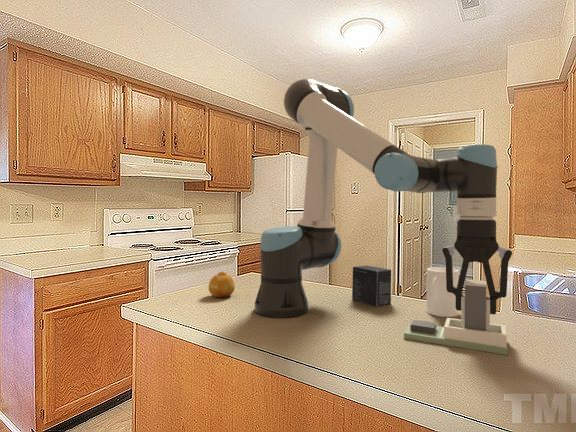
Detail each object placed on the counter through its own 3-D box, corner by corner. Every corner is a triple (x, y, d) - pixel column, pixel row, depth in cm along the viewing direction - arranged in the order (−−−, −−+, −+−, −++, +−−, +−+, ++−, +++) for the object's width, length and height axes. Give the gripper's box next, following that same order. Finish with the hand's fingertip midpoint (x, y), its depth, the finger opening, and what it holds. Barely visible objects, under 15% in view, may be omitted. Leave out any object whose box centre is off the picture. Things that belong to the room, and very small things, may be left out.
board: (404, 338, 83) (404, 326, 83) (410, 327, 91) (410, 316, 90) (507, 355, 74) (507, 342, 74) (505, 341, 81) (505, 329, 81)
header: (443, 338, 80) (444, 326, 80) (446, 328, 86) (447, 317, 86) (506, 347, 74) (506, 335, 74) (504, 336, 81) (505, 325, 81)
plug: (464, 329, 79) (464, 282, 79) (465, 323, 83) (465, 279, 82) (485, 332, 77) (486, 284, 77) (485, 326, 81) (486, 280, 81)
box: (391, 303, 112) (392, 269, 112) (376, 307, 108) (377, 271, 108) (366, 296, 121) (366, 264, 120) (351, 299, 117) (351, 266, 117)
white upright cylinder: (445, 322, 95) (446, 275, 94) (414, 314, 101) (414, 270, 100) (464, 312, 103) (464, 269, 102) (434, 306, 109) (434, 265, 108)
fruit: (225, 284, 128) (217, 266, 124) (242, 289, 124) (235, 271, 120) (209, 300, 123) (200, 282, 119) (226, 306, 118) (218, 288, 114)
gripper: (431, 218, 80) (430, 326, 81) (525, 219, 72) (523, 339, 73) (435, 217, 87) (435, 317, 87) (521, 218, 79) (520, 327, 79)
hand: (475, 326), depth 80 cm, fingers closed on plug, 4 cm apart
